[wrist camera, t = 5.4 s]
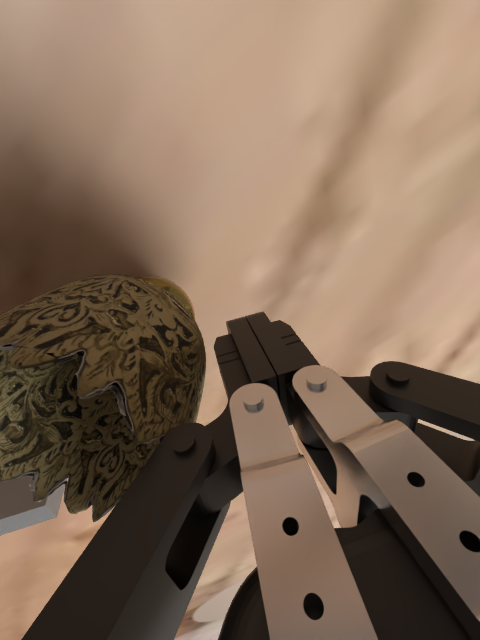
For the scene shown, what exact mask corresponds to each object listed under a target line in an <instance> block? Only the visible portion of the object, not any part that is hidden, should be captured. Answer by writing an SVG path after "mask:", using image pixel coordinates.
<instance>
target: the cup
mask: <svg viewBox="0 0 480 640" xmlns="http://www.w3.org/2000/svg"><path fill="white" fill-rule="evenodd" d="M205 371H206V353H205V347H204V342H203V338H202V335H201V332H200V330H199V328H198V326H197V324H196V322H195V314H194V308H193V305H192V303H191V300H190V299H189V297H188V296H187V294H186V293H185V292H184V291H183V290H182V289H181V288H180V287H179V286H178V285H176V284H175V283H173V282H171V281H169V280H167V279H164V278H161V277H156V276H146V277H140V278H135V277H131V276H124V275H99V276H92V277H88V278H84V279H80V280H76V281H73V282H71V283H68V284H65V285H63V286H60V287H58V288H55V289H53V290H51V291H49V292H46V293H44V294H42V295H40V296H37V297H35V298H33V299H31V300H29V301H27V302H25V303H23V304H21V305H19V306H17V307H15V308H13V309H11V310H9V311H6V312H4V313H2V314H0V482H5V481H9V480H13V479H18V478H20V477H23V476H30V477H32V480H34V478H33V477H34V474H37V478H36V481H35V483H34V484H33V490H31V492H32V495H33V499H34V500H33V501H34V502H40V501H42V500H44V499H46V498H47V497H48V496H49V495H51V494H52V493H53V492H54V491H55V490H56V489H57V488H59V487H60V486H61V485H62V484H65V491H64V502H65V504H66V506H67V509H68V511H69V512H70V513H71V514H77V513H78V512H80V511H84V510H87V509H88V508H89V507H90V506H91V505H93V506H92V507H93V514H92V518H93V522H96V521H98V520H99V519H100V518H102V517H103V516H104V515H106V514H107V513H108V512H109V511H110V510H111V509H112V508H113V507H114V506H116V505H117V503H118V502H119V500H120V499H121V497H122V496H123V495H124V493H125V492H126V490H127V489H128V487H129V486H130V485H131V483H132V482H133V480H134V479H135V478H136V476H137V475H138V473H139V472H140V470H141V469H142V468H143V466H144V465H145V463H146V462H147V460H148V459H149V458H150V456H151V455H152V453H153V452H154V451H155V449H156V448H157V446H158V445H159V443H160V442H161V441H162V439H163V438H164V437H165V435H166V434H167V433H168V432H169V431H170V430H172V429H173V428H175V427H177V426H179V425H181V424H184V423H190V422H194V423H196V419H197V415H198V411H199V406H200V402H201V397H202V392H203V387H204V380H205ZM66 478H69V479H68V482H67V481H64V480H65V479H66ZM63 481H64V482H63ZM60 483H61V484H60ZM59 484H60V485H59ZM58 485H59V486H58ZM29 486H30V488H31V489H32V485H30V484H29ZM57 486H58V487H57Z"/></svg>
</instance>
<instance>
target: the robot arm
mask: <svg viewBox="0 0 480 640" xmlns="http://www.w3.org/2000/svg"><path fill="white" fill-rule="evenodd" d="M226 324H227V329H228V335H224V336H221V337H217V338H216V341H215V344H214V350H215V354H216V358H217V361H218V365H219V369H220V373H221V377H222V380H223V383H224V387H225V390H226V394H227V397H228V404H227V406H226V408H225V410H224V412H223V413H222V414H221V415H220V416H219V417H218V418H217V419H215V420H214V421H212V422H211V423H209V424H208V425H206V426H203V425H202V424H199V423H194V422H190V423H184V424H181V425H179V426H177V427H175V428H173V429H172V430H170V431H169V432H168V433H167V434H166V435H165V437H164V438H163V439H162V441H161V442H160V443H159V445H158V446H157V448H156V449H155V451H154V452H153V453H152V455H151V456H150V458H149V459H148V460H147V462H146V463H145V465H144V466H143V468H142V469H141V470H140V472H139V473H138V475H137V476H136V478H135V479H134V480H133V482H132V483H131V485H130V486H129V487H128V489H127V490H126V492H125V493H124V495H123V496H122V497H121V499H120V500H119V502H118V503H117V505H116V506H115V507H114V509H113V510H112V512H111V513H110V514H109V516H108V517H107V519H106V520H105V522H104V523H103V524H102V526H101V527H100V529H99V530H98V532H97V533H96V534H95V536H94V537H93V539H92V540H91V541H90V543H89V544H88V546H87V547H86V549H85V550H84V551H83V553H82V554H81V556H80V557H79V559H78V560H77V561H76V563H75V564H74V566H73V567H72V568H71V570H70V571H69V573H68V574H67V576H66V577H65V578H64V580H63V581H62V583H61V584H60V586H59V587H58V588H57V590H56V591H55V593H54V594H53V595H52V597H51V598H50V600H49V601H48V603H47V604H46V605H45V607H44V608H43V610H42V611H41V613H40V614H39V615H38V617H37V618H36V620H35V621H34V622H33V624H32V625H31V627H30V628H29V630H28V631H27V632H26V634H25V635H24V637H23V638H22V640H174V638H175V635H176V633H177V631H178V628H179V626H180V624H181V621H182V619H183V616H184V614H185V612H186V609H187V607H188V604H189V602H190V600H191V597H192V595H193V593H194V590H195V588H196V585H197V583H198V581H199V578H200V576H201V574H202V571H203V569H204V566H205V564H206V562H207V559H208V557H209V555H210V552H211V550H212V547H213V545H214V543H215V540H216V538H217V536H218V533H219V531H220V528H221V526H222V524H223V521H224V519H225V516H226V514H227V512H228V509H229V506H230V502H231V500H233V499H234V498H235V497H236V496H238V495H239V494H240V493H241V492H243V491H244V497H245V502H246V508H247V513H248V519H249V525H250V530H251V536H252V541H253V547H254V552H255V558H256V563H257V567H256V568H255V569H254V570H253V571H252V572H251V573H250V574H249V575H248V577H247V578H246V579H245V581H244V582H243V584H242V585H241V586H240V588H239V590H238V592H237V593H236V595H235V597H234V598H233V600H232V602H231V605H230V607H229V609H228V612H227V614H226V617H225V619H224V622H223V625H222V629H221V632H220V635H219V638H218V640H480V384H478V383H474V382H470V381H467V380H463V379H460V378H456V377H452V376H449V375H445V374H442V373H438V372H435V371H431V370H427V369H424V368H420V367H417V366H413V365H409V364H406V363H402V362H396V361H388V362H382V363H379V364H377V365H376V366H375V367H373V369H372V370H371V374H370V376H365V377H342V376H339V375H338V374H337V373H336V372H335V371H334V370H332V369H330V368H328V367H325V366H320V364H319V363H318V362H317V360H316V359H315V358H314V356H313V355H312V354H311V353H310V351H309V350H308V349H307V347H306V346H305V345H304V343H303V342H302V341H301V339H300V338H299V337H298V336H297V335H296V333H295V332H294V330H293V329H292V328H291V326H290V325H288V324H286V323H284V322H282V321H280V320H278V321H274V322H270V320H269V319H268V317H267V316H266V314H265V313H264V312H259V313H256V314H252V315H248V316H245V317H241V318H238V319H234V320H230V321H227V322H226ZM418 419H420V420H423V421H426V422H429V423H431V424H434V425H437V426H439V427H442V428H445V429H447V430H450V431H453V432H456V433H458V434H461V435H464V436H467V437H469V438H472V439H474V440H476V441H467V440H463V439H460V438H457V437H455V436H452V435H449V434H447V433H444V432H441V431H439V430H436V429H433V428H431V427H428V426H425V425H423V424H420V423H417V422H418ZM292 424H293V426H294V428H295V430H296V432H297V439H298V445H299V447H300V449H301V450H302V452H303V454H304V455H305V457H306V458H305V457H304V455H300V453H299V451H298V449H297V446H296V443H295V441H294V438H293V436H292V433H291V430H290V428H289V425H292ZM306 459H307V460H306ZM307 461H308V462H309V464H310V466H311V467H312V469H313V471H314V473H315V474H316V476H317V478H318V479H319V481H320V483H321V485H322V486H323V488H324V490H325V491H326V493H327V495H328V496H329V498H330V500H331V502H332V504H333V507H334V510H335V513H336V516H337V519H338V522H339V524H340V526H341V528H334V527H333V525H332V522H331V520H330V517H329V515H328V512H327V510H326V507H325V505H324V502H323V500H322V497H321V495H320V492H319V490H318V487H317V485H316V482H315V480H314V477H313V474H312V472H311V469H310V467H309V465H308V462H307Z"/></svg>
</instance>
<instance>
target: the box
mask: <svg viewBox="0 0 480 640" xmlns="http://www.w3.org/2000/svg"><path fill="white" fill-rule="evenodd" d="M33 478H34V480H32V477H30V476H23V477H20V478H18V479H13V480H9V481H5V482H0V535H3V534H6V533H10V532H13V531H16V530H19V529H22V528H25V527H28V526H31V525H34V524H37V523H40V522H44V521H47V520H50V519H53V518H56V517H57V514H58V511H59V507H60V503H61V499H62V495H63V491H64V487H65V484H62V485H61V486H60V487H59V488H57V489H56V490H55V491H54V492H53V493H52V494H51V495H49V496H48V497H47V498H46V499H44V500H42V501H40V502H34V501H33V500H34V499H33V495H32V492H31V490H33V484H34V483H35V481H36V478H37V474H34V477H33ZM66 479H67V478H66ZM66 479H65V480H64V481H66ZM64 481H63V482H64ZM29 484H30V485H32V489H31V488H30V486H29ZM60 484H61V483H60ZM60 484H59V485H60ZM59 485H58V486H59ZM58 486H57V487H58Z"/></svg>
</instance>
